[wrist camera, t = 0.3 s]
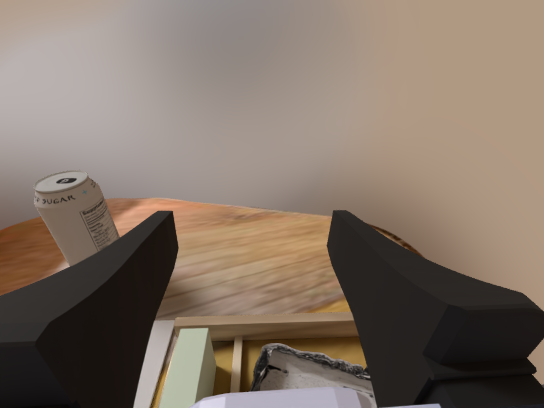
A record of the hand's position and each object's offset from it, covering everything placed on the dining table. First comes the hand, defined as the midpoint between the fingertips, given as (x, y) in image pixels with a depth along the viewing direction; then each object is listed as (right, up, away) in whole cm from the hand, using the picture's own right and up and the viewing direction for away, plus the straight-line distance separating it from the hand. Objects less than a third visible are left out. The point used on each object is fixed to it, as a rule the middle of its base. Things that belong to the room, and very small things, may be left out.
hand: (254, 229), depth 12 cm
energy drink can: (-22, -9, +24) cm, 34 cm away
